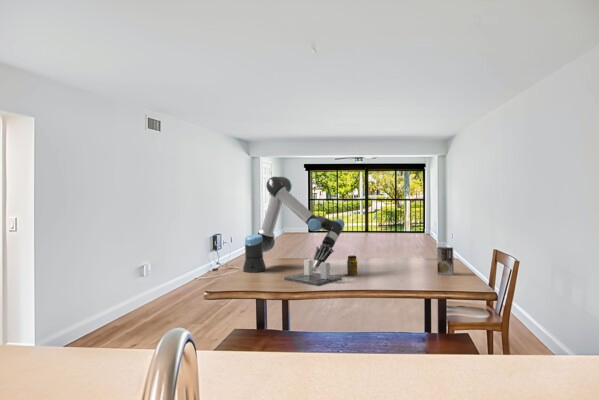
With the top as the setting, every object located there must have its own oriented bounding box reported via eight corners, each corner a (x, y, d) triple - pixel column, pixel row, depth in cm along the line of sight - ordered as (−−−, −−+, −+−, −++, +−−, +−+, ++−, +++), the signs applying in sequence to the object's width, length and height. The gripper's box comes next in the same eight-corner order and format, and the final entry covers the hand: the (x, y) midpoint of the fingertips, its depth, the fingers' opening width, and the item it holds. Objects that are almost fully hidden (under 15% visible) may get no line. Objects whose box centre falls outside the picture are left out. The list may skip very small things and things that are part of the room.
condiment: (360, 275, 263) (359, 256, 263) (349, 277, 259) (349, 257, 258) (352, 273, 270) (352, 254, 269) (342, 275, 265) (341, 256, 265)
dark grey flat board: (284, 279, 255) (284, 277, 255) (309, 274, 271) (309, 271, 271) (316, 285, 237) (316, 283, 237) (341, 279, 253) (341, 276, 253)
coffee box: (453, 273, 265) (453, 247, 264) (452, 275, 259) (452, 248, 258) (438, 272, 268) (438, 246, 268) (437, 274, 263) (436, 248, 262)
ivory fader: (304, 274, 260) (303, 260, 260) (308, 273, 263) (307, 259, 262) (309, 275, 257) (308, 260, 257) (312, 274, 260) (312, 259, 260)
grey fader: (320, 278, 248) (320, 263, 248) (324, 277, 251) (324, 262, 251) (326, 279, 246) (325, 263, 245) (330, 278, 248) (329, 262, 248)
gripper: (340, 244, 270) (324, 275, 259) (324, 242, 279) (308, 272, 268) (335, 236, 266) (318, 267, 255) (319, 235, 275) (302, 265, 264)
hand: (313, 270), depth 261 cm, fingers closed
